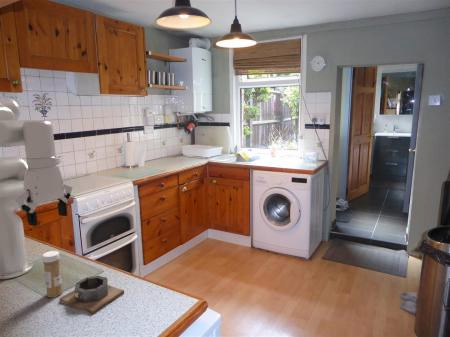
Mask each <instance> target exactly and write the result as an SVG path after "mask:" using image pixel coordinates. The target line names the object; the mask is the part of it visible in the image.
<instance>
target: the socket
mask: <svg viewBox="0 0 450 337" xmlns="http://www.w3.org/2000/svg"><path fill="white" fill-rule="evenodd" d="M108 285H109V282H108V277H107V276H101V275H94V276H88V277H84V278H83V279H80V280H79V281H77V282H76V283H75V286H74V290H75V298H76V301H79V302H82V303H90V302H96V301H99V300H101V299H102V298H104V297H105V296H107V295H108ZM88 289H89V290H88Z"/></svg>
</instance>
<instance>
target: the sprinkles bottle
mask: <svg viewBox="0 0 450 337" xmlns="http://www.w3.org/2000/svg"><path fill="white" fill-rule="evenodd" d="M41 257H42V262H43V268H44V270H43V272H44V280H45V281H44V282H45V287H46V297H47V298H56V297H59V296H60V295H62V294H63V292H64V290H63V285H62V284H63V283H62V281H63V280H62V274H61V266H60V265H61V264H60V257H61V256H60V252H59V251H57V250H50V251H46V252H44V253H43V254H42V256H41Z"/></svg>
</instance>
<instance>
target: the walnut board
mask: <svg viewBox="0 0 450 337" xmlns="http://www.w3.org/2000/svg"><path fill="white" fill-rule="evenodd" d="M88 290H89V289H88ZM124 294H125V289H121V288H118V287H115V286H112V285H109V284H108V295H107V296H105V297H104V298H102V299H101V300H99V301H96V302H90V303H82V302H79V301H76V298H75V289H74V290H71V291H70V292H68V293H66V294H65V295H63V296H61V297H59V302H61V303H63V304H65V305H68V306H71V307H73V308H76V309H79V310H82V311H84V312H85V313H89V314H91V315H95V314H96V313H97V312H99V311H100V310H101V309H104V308H105V307H106V306H107V305H110V303H112V302H114V301H115V300H117V299H118V298H119V297H121V296H123V295H124Z"/></svg>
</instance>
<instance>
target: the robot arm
mask: <svg viewBox="0 0 450 337" xmlns="http://www.w3.org/2000/svg"><path fill="white" fill-rule="evenodd" d="M20 110H21V109H20V106H19V104H18V103H17V102H16V101H15V100H14V99H12V98H11V97H5V96H3V97H0V148H10V147H11V148H12V147H21V146H24V152H25V159H23V158H21V157H19V156H6V157H0V280H9V279H14V278H16V277H17V278H18V277H19V276H20V277H21V276H23V275H25V274H27V273H28V272H30V271H31V270H32V268H33V267H34V264H33V262H32V261H30V260H28V255H27V248H26V239H25V231H24V223H23V219H22V218H21V217H20V216H19V215H17V214H16V213H15V212H14V210H18V209H20V210H22V211H23V212H24V213H26V219H27V224H28V225H29V226H33V227H37V226H38V215H37V212H36V211H35V210H36V209H37V207H38V206H39V205H42V204H45V203H49V202H54V201H58V202H57V211H58V216H61V217H68V207H67V206H68V205H67V204H68V203H69V199H70V197H71V193H72V190H73V186H70V185H67V184H64V180H63V179H64V178H63V175H62V172H61V169H60V167H59V166H58V163H59V162H60V157H58V156H57V155H56V147H55V144H56V143H55V137H54V128H53V124H52V122H51V121H49V120H37V119H19V118H20V114H21V112H20Z"/></svg>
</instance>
